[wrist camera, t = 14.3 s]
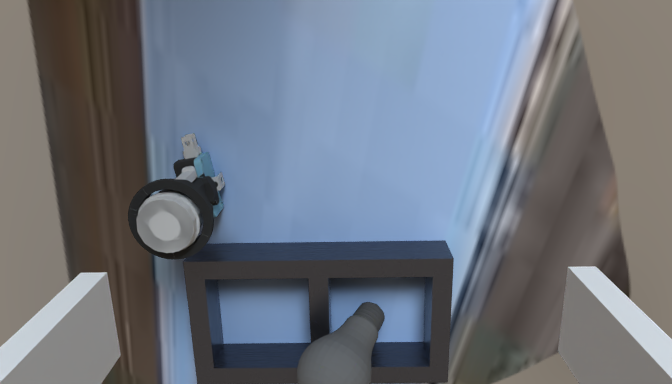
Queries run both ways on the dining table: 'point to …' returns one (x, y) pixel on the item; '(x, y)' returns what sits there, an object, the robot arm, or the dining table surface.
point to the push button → (178, 206)
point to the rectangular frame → (317, 306)
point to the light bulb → (343, 351)
